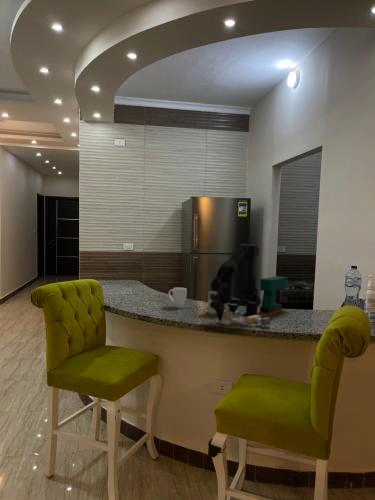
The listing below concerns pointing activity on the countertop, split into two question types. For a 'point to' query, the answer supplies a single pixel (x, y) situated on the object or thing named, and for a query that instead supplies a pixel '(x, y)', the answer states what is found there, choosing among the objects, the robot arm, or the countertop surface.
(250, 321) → the sliding jaw
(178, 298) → the mug
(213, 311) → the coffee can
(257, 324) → the vise base
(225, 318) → the maple block
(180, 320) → the countertop surface
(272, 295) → the power tool
